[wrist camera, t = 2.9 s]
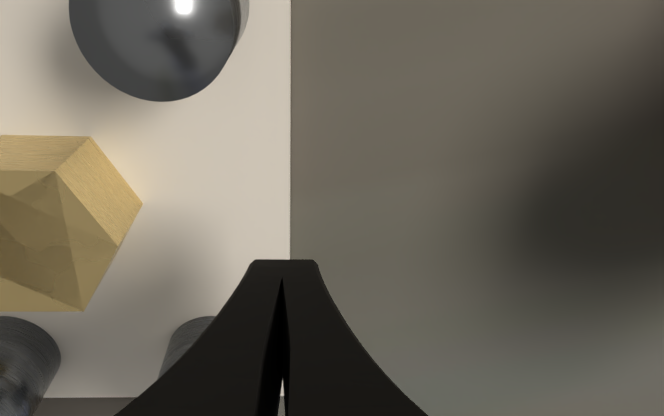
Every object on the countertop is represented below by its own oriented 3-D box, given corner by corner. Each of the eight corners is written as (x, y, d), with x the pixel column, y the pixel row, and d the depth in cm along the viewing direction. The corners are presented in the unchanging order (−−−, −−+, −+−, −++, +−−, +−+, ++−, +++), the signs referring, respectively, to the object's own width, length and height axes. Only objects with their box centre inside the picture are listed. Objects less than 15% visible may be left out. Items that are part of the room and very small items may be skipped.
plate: (289, 379, 20) (289, 395, 19) (-171, 382, 19) (-189, 399, 18) (290, -86, 13) (290, -87, 13) (-419, -117, 12) (-463, -120, 12)
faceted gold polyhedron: (150, 262, 17) (128, 311, 14) (-7, 261, 16) (-54, 311, 14) (134, 137, 15) (106, 171, 13) (-43, 133, 15) (-103, 168, 12)
